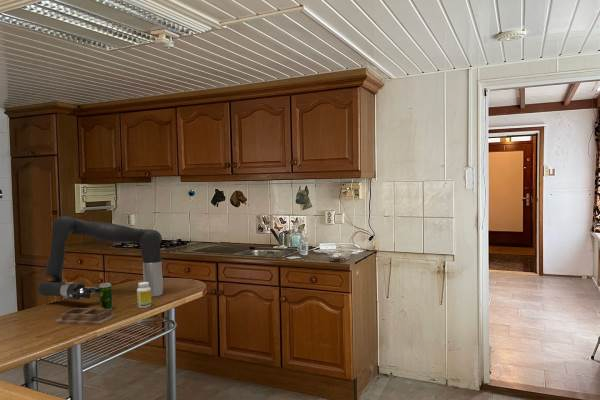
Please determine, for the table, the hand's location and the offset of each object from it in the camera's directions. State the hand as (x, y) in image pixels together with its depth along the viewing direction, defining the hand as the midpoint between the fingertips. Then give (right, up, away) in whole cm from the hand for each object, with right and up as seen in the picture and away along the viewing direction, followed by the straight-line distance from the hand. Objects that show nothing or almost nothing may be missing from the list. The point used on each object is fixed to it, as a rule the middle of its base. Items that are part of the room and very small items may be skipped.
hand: (97, 293), depth 205 cm
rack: (+3, -8, -16) cm, 18 cm away
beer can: (+5, -7, -2) cm, 9 cm away
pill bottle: (+21, -7, +2) cm, 22 cm away
